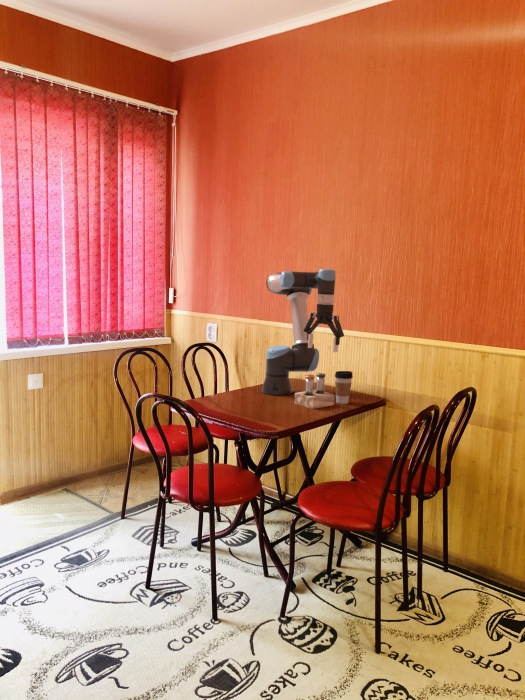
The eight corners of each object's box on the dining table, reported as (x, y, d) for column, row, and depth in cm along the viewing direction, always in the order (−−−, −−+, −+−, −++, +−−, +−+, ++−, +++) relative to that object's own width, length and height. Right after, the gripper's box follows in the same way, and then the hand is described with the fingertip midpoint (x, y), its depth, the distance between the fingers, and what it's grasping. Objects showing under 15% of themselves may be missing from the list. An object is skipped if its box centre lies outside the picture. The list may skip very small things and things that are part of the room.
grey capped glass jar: (313, 392, 269) (314, 373, 268) (320, 391, 272) (320, 372, 270) (320, 394, 266) (321, 375, 265) (326, 393, 269) (327, 374, 267)
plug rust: (302, 394, 265) (303, 375, 263) (309, 393, 267) (310, 374, 266) (308, 396, 261) (309, 376, 260) (315, 395, 264) (316, 376, 263)
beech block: (294, 403, 268) (294, 392, 267) (315, 399, 276) (316, 389, 276) (312, 408, 258) (312, 398, 258) (333, 404, 267) (334, 394, 267)
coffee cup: (350, 405, 268) (352, 373, 266) (332, 403, 270) (334, 372, 267) (351, 401, 276) (353, 370, 274) (334, 399, 278) (335, 369, 276)
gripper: (297, 301, 262) (295, 346, 266) (345, 306, 247) (341, 354, 250) (307, 300, 268) (304, 345, 271) (353, 305, 252) (350, 352, 256)
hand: (322, 349), depth 261 cm, fingers open, 13 cm apart
